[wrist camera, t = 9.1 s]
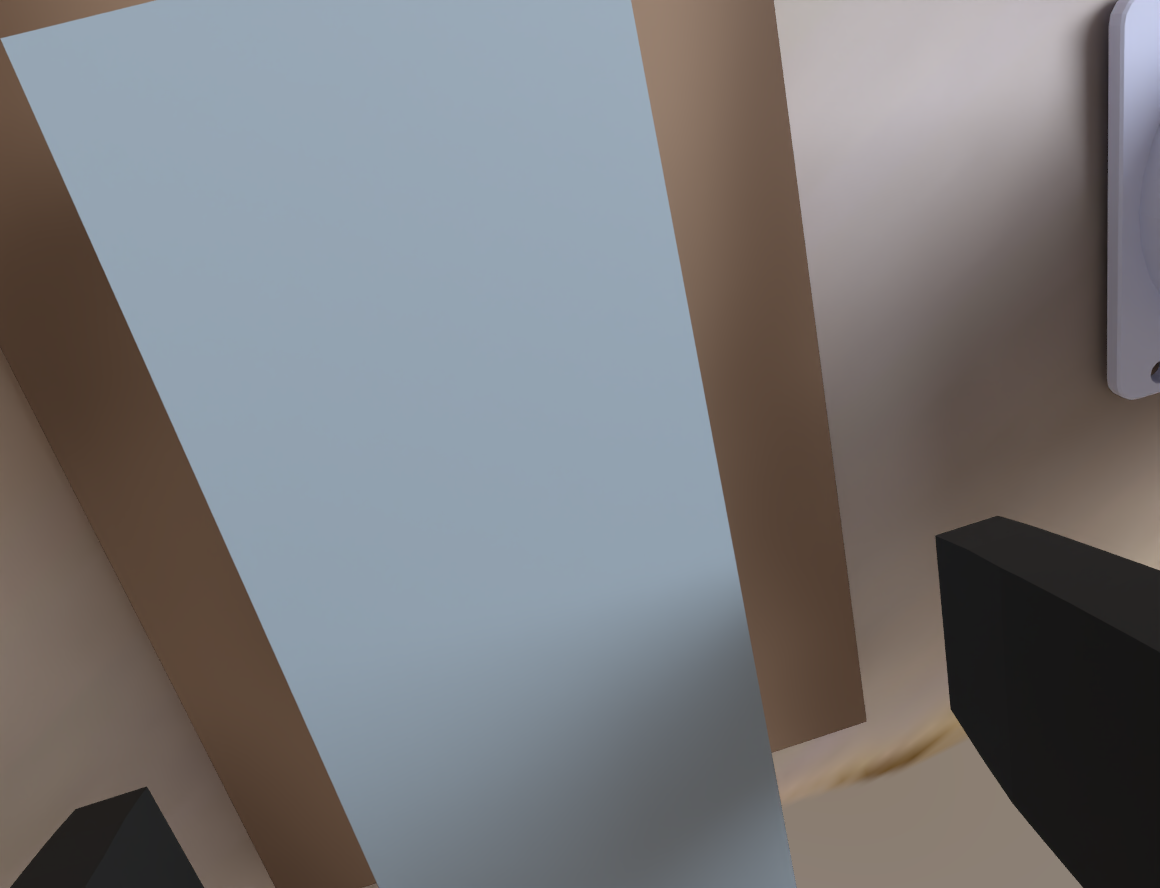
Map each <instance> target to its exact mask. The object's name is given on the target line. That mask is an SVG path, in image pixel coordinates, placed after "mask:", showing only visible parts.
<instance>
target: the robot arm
mask: <svg viewBox="0 0 1160 888" xmlns="http://www.w3.org/2000/svg"><path fill="white" fill-rule="evenodd" d="M1159 361H1160V0H1118V1H1117V2H1116V4H1115V6H1114V8H1113V10H1112V12H1111V15H1110V21H1109V80H1108V273H1107V382H1108V387H1109V388H1110V389H1111V391H1112V392H1113V393H1115V394H1117V395H1119V396H1121V397H1123V398H1126V399H1129V400H1135V399H1140V398H1143V397H1147V396H1150V395H1153V394H1156V393H1160V364H1159V368H1158V369H1157V371H1156V372H1155V373H1154V374H1153V375H1151V371H1152V368H1153V367H1154V366H1155V365H1156V363H1158V362H1159ZM935 537H936V549H937V560H938V571H939V583H940V594H941V605H942V616H943V628H944V639H945V650H946V661H947V673H948V684H949V695H950V707H951V710H952V712H953V713H954V715H955V717H956V718H957V720H958V721H959V723H960V724H961V726H962V728H963V729H964V731H965V732H966V734H967V735H968V737H969V738H970V740H971V742H972V743H973V745H974V746H975V748H976V749H977V751H978V752H979V754H980V756H981V757H982V759H983V760H984V762H985V763H986V765H987V766H988V768H989V769H990V771H991V772H992V774H993V775H994V777H995V778H996V779H997V781H998V782H999V784H1000V785H1001V787H1002V788H1003V790H1004V791H1005V793H1006V794H1007V796H1008V797H1009V799H1010V800H1011V802H1012V803H1013V804H1014V805H1015V807H1016V808H1017V809H1018V810H1019V812H1020V813H1021V814H1022V815H1023V816H1024V818H1025V819H1026V820H1027V821H1028V823H1029V824H1030V825H1031V826H1032V827H1033V829H1034V830H1035V831H1036V832H1037V833H1038V835H1040V837H1041V838H1042V839H1043V840H1044V842H1045V843H1046V844H1047V845H1048V846H1049V848H1050V849H1051V850H1052V851H1053V852H1054V853H1055V855H1056V856H1057V857H1058V858H1059V859H1060V861H1061V862H1062V863H1063V864H1064V865H1065V867H1066V868H1067V869H1068V870H1069V871H1070V873H1071V874H1072V875H1073V876H1074V877H1075V878H1076V880H1077V881H1078V882H1079V883H1080V884H1081V886H1082V887H1083V888H1160V570H1157V569H1154V568H1151V567H1148V566H1146V565H1143V564H1140V563H1137V562H1134V561H1131V560H1129V559H1126V558H1123V557H1120V556H1117V555H1114V554H1112V553H1109V552H1106V551H1103V550H1100V549H1097V548H1095V547H1092V546H1089V545H1086V544H1083V543H1080V542H1078V541H1075V540H1072V539H1069V538H1066V537H1063V536H1060V535H1057V534H1054V533H1051V532H1048V531H1045V530H1042V529H1040V528H1037V527H1033V526H1030V525H1027V524H1024V523H1021V522H1017V521H1014V520H1010V519H1007V518H1003V517H1000V516H995V517H992V518H989V519H986V520H983V521H980V522H977V523H973V524H970V525H967V526H964V527H961V528H958V529H955V530H951V531H948V532H945V533H942V534H939V535H936V536H935ZM10 888H204V887H203V885H202V883H201V882H200V880H199V878H198V876H197V875H196V873H195V871H194V869H193V867H192V866H191V864H190V862H189V860H188V859H187V857H186V855H185V853H184V851H183V850H182V848H181V846H180V844H179V843H178V841H177V839H176V837H175V835H174V834H173V832H172V830H171V828H170V827H169V825H168V823H167V821H166V819H165V818H164V816H163V814H162V812H161V811H160V809H159V807H158V805H157V804H156V802H155V800H154V798H153V796H152V795H151V793H150V791H149V789H148V788H147V787H144V788H141V789H138V790H135V791H132V792H128V793H125V794H122V795H119V796H116V797H113V798H110V799H106V800H103V801H100V802H97V803H94V804H91V805H88V806H84V807H81V808H78V809H75V811H74V812H73V813H72V814H71V815H70V816H69V817H68V818H67V820H66V821H65V822H64V823H63V824H62V825H61V826H60V827H59V829H58V830H57V831H56V832H55V833H54V834H53V836H52V837H51V838H50V839H49V840H48V841H47V843H46V844H45V845H44V846H43V848H42V849H41V850H40V851H39V852H38V854H37V855H36V856H35V857H34V859H33V860H32V861H31V862H30V864H29V865H28V866H27V867H26V869H25V870H24V871H23V872H22V874H21V875H20V876H19V877H18V879H17V880H16V881H15V882H14V884H13V885H12V886H11V887H10Z"/></svg>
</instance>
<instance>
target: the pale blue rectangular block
mask: <svg viewBox="0 0 1160 888" xmlns="http://www.w3.org/2000/svg"><path fill="white" fill-rule="evenodd" d="M0 39H1V41H2V43H3V46H4V48H5V50H6V52H7V55H8V57H9V59H10V61H11V64H12V66H13V68H14V70H15V72H16V75H17V77H18V79H19V81H20V84H21V86H22V88H23V90H24V93H25V95H26V97H27V99H28V102H29V104H30V106H31V108H32V111H33V113H34V115H35V117H36V120H37V122H38V124H39V126H40V129H41V131H42V133H43V135H44V138H45V140H46V142H47V144H48V147H49V149H50V151H51V153H52V155H53V158H54V160H55V162H56V164H57V167H58V169H59V171H60V173H61V176H62V178H63V180H64V182H65V185H66V187H67V189H68V191H69V194H70V196H71V198H72V200H73V203H74V205H75V207H76V209H77V212H78V214H79V216H80V218H81V221H82V223H83V225H84V227H85V230H86V232H87V234H88V236H89V238H90V241H91V243H92V245H93V247H94V250H95V252H96V254H97V256H98V259H99V261H100V263H101V265H102V268H103V270H104V272H105V274H106V277H107V279H108V281H109V283H110V286H111V288H112V290H113V292H114V295H115V297H116V299H117V301H118V304H119V306H120V308H121V310H122V313H123V315H124V317H125V319H126V321H127V324H128V326H129V328H130V330H131V333H132V335H133V337H134V339H135V342H136V344H137V346H138V348H139V351H140V353H141V355H142V357H143V360H144V362H145V364H146V366H147V369H148V371H149V373H150V375H151V378H152V380H153V382H154V384H155V387H156V389H157V391H158V393H159V396H160V398H161V400H162V402H163V404H164V407H165V409H166V411H167V413H168V416H169V418H170V420H171V422H172V425H173V427H174V429H175V431H176V434H177V436H178V438H179V440H180V443H181V445H182V447H183V449H184V452H185V454H186V456H187V458H188V461H189V463H190V465H191V467H192V470H193V472H194V474H195V476H196V479H197V481H198V483H199V485H200V487H201V490H202V492H203V494H204V496H205V499H206V501H207V503H208V505H209V508H210V510H211V512H212V514H213V517H214V519H215V521H216V523H217V526H218V528H219V530H220V532H221V535H222V537H223V539H224V541H225V544H226V546H227V548H228V550H229V553H230V555H231V557H232V559H233V562H234V564H235V566H236V568H237V570H238V573H239V575H240V577H241V579H242V582H243V584H244V586H245V588H246V591H247V593H248V595H249V597H250V600H251V602H252V604H253V606H254V609H255V611H256V613H257V615H258V618H259V620H260V622H261V624H262V627H263V629H264V631H265V633H266V636H267V638H268V640H269V642H270V645H271V647H272V649H273V651H274V653H275V656H276V658H277V660H278V662H279V665H280V667H281V669H282V671H283V674H284V676H285V678H286V680H287V683H288V685H289V687H290V689H291V692H292V694H293V696H294V698H295V701H296V703H297V705H298V707H299V710H300V712H301V714H302V716H303V719H304V721H305V723H306V725H307V728H308V730H309V732H310V734H311V736H312V739H313V741H314V743H315V745H316V748H317V750H318V752H319V754H320V757H321V759H322V761H323V763H324V766H325V768H326V770H327V772H328V775H329V777H330V779H331V781H332V784H333V786H334V788H335V790H336V793H337V795H338V797H339V799H340V802H341V804H342V806H343V808H344V811H345V813H346V815H347V817H348V819H349V822H350V824H351V826H352V828H353V831H354V833H355V835H356V837H357V840H358V842H359V844H360V846H361V849H362V851H363V853H364V855H365V858H366V860H367V862H368V864H369V867H370V869H371V871H372V873H373V876H374V878H375V880H376V882H377V885H378V887H379V888H797V887H796V883H795V876H794V872H793V866H792V861H791V855H790V850H789V844H788V839H787V834H786V829H785V823H784V818H783V812H782V807H781V801H780V796H779V791H778V785H777V780H776V775H775V769H774V764H773V759H772V753H771V748H770V743H769V737H768V732H767V726H766V721H765V716H764V710H763V705H762V700H761V694H760V689H759V684H758V678H757V673H756V668H755V662H754V657H753V651H752V646H751V641H750V635H749V630H748V625H747V619H746V614H745V609H744V603H743V598H742V593H741V587H740V582H739V576H738V571H737V566H736V560H735V555H734V550H733V544H732V539H731V534H730V528H729V523H728V518H727V512H726V507H725V501H724V496H723V491H722V485H721V480H720V475H719V469H718V464H717V459H716V453H715V448H714V443H713V437H712V432H711V426H710V421H709V416H708V410H707V405H706V400H705V394H704V389H703V384H702V378H701V373H700V368H699V362H698V357H697V351H696V346H695V341H694V335H693V330H692V325H691V319H690V314H689V309H688V303H687V298H686V293H685V287H684V282H683V276H682V271H681V266H680V260H679V255H678V250H677V244H676V239H675V234H674V228H673V223H672V218H671V212H670V207H669V201H668V196H667V191H666V185H665V180H664V175H663V169H662V164H661V159H660V153H659V148H658V143H657V137H656V132H655V126H654V121H653V116H652V110H651V105H650V100H649V94H648V89H647V84H646V78H645V73H644V68H643V62H642V57H641V51H640V46H639V41H638V35H637V30H636V25H635V19H634V14H633V9H632V3H631V0H155V1H151V2H147V3H143V4H139V5H135V6H131V7H127V8H123V9H118V10H114V11H110V12H106V13H102V14H98V15H94V16H90V17H86V18H82V19H78V20H74V21H70V22H66V23H61V24H57V25H53V26H49V27H45V28H41V29H37V30H33V31H29V32H25V33H21V34H17V35H13V36H9V37H5V38H0Z"/></svg>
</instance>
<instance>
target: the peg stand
mask: <svg viewBox="0 0 1160 888" xmlns="http://www.w3.org/2000/svg"><path fill="white" fill-rule="evenodd" d="M151 1H155V0H0V38H5V37H9V36H13V35H17V34H21V33H25V32H29V31H33V30H37V29H41V28H45V27H49V26H53V25H57V24H61V23H66V22H70V21H74V20H78V19H82V18H86V17H90V16H94V15H98V14H102V13H106V12H110V11H114V10H118V9H123V8H127V7H131V6H135V5H139V4H143V3H147V2H151ZM631 3H632V9H633V14H634V19H635V25H636V30H637V35H638V41H639V46H640V51H641V57H642V62H643V68H644V73H645V78H646V84H647V89H648V94H649V100H650V105H651V110H652V116H653V121H654V126H655V132H656V137H657V143H658V148H659V153H660V159H661V164H662V169H663V175H664V180H665V185H666V191H667V196H668V201H669V207H670V212H671V218H672V223H673V228H674V234H675V239H676V244H677V250H678V255H679V260H680V266H681V271H682V276H683V282H684V287H685V293H686V298H687V303H688V309H689V314H690V319H691V325H692V330H693V335H694V341H695V346H696V351H697V357H698V362H699V368H700V373H701V378H702V384H703V389H704V394H705V400H706V405H707V410H708V416H709V421H710V426H711V432H712V437H713V443H714V448H715V453H716V459H717V464H718V469H719V475H720V480H721V485H722V491H723V496H724V501H725V507H726V512H727V518H728V523H729V528H730V534H731V539H732V544H733V550H734V555H735V560H736V566H737V571H738V576H739V582H740V587H741V593H742V598H743V603H744V609H745V614H746V619H747V625H748V630H749V635H750V641H751V646H752V651H753V657H754V662H755V668H756V673H757V678H758V684H759V689H760V694H761V700H762V705H763V710H764V716H765V721H766V726H767V732H768V737H769V743H770V748H771V753H772V752H775V751H779V750H782V749H785V748H788V747H791V746H794V745H797V744H800V743H803V742H806V741H809V740H812V739H815V738H818V737H821V736H824V735H827V734H830V733H833V732H836V731H839V730H842V729H845V728H848V727H851V726H854V725H857V724H861V723H864V722H867V721H866V713H865V705H864V698H863V690H862V682H861V674H860V667H859V659H858V651H857V643H856V636H855V628H854V620H853V612H852V605H851V597H850V589H849V581H848V574H847V566H846V558H845V550H844V543H843V535H842V527H841V519H840V512H839V504H838V496H837V488H836V481H835V473H834V465H833V457H832V449H831V442H830V434H829V426H828V418H827V411H826V403H825V395H824V387H823V380H822V372H821V364H820V356H819V349H818V341H817V333H816V325H815V318H814V310H813V302H812V294H811V287H810V279H809V271H808V263H807V256H806V248H805V240H804V232H803V225H802V217H801V209H800V201H799V194H798V186H797V178H796V170H795V163H794V155H793V147H792V139H791V132H790V124H789V116H788V108H787V101H786V93H785V85H784V77H783V69H782V62H781V54H780V46H779V38H778V31H777V23H776V15H775V7H774V0H631ZM0 347H1V349H2V351H3V353H4V355H5V357H6V359H7V361H8V363H9V365H10V367H11V369H12V371H13V373H14V375H15V377H16V379H17V381H18V383H19V384H20V386H21V388H22V390H23V392H24V394H25V396H26V398H27V400H28V402H29V404H30V406H31V408H32V410H33V412H34V414H35V416H36V418H37V420H38V422H39V424H40V426H41V428H42V430H43V432H44V434H45V436H46V438H47V440H48V441H49V443H50V445H51V447H52V449H53V451H54V453H55V455H56V457H57V459H58V461H59V463H60V465H61V467H62V469H63V471H64V473H65V475H66V477H67V479H68V481H69V483H70V485H71V487H72V489H73V491H74V493H75V495H76V497H77V499H78V500H79V502H80V504H81V506H82V508H83V510H84V512H85V514H86V516H87V518H88V520H89V522H90V524H91V526H92V528H93V530H94V532H95V534H96V536H97V538H98V540H99V542H100V544H101V546H102V548H103V550H104V552H105V554H106V556H107V557H108V559H109V561H110V563H111V565H112V567H113V569H114V571H115V573H116V575H117V577H118V579H119V581H120V583H121V585H122V587H123V589H124V591H125V593H126V595H127V597H128V599H129V601H130V603H131V605H132V607H133V609H134V611H135V613H136V614H137V616H138V618H139V620H140V622H141V624H142V626H143V628H144V630H145V632H146V634H147V636H148V638H149V640H150V642H151V644H152V646H153V648H154V650H155V652H156V654H157V656H158V658H159V660H160V662H161V664H162V666H163V668H164V670H165V671H166V673H167V675H168V677H169V679H170V681H171V683H172V685H173V687H174V689H175V691H176V693H177V695H178V697H179V699H180V701H181V703H182V705H183V707H184V709H185V711H186V713H187V715H188V717H189V719H190V721H191V723H192V725H193V727H194V728H195V730H196V732H197V734H198V736H199V738H200V740H201V742H202V744H203V746H204V748H205V750H206V752H207V754H208V756H209V758H210V760H211V762H212V764H213V766H214V768H215V770H216V772H217V774H218V776H219V778H220V780H221V782H222V784H223V785H224V787H225V789H226V791H227V793H228V795H229V797H230V799H231V801H232V803H233V805H234V807H235V809H236V811H237V813H238V815H239V817H240V819H241V821H242V823H243V825H244V827H245V829H246V831H247V833H248V835H249V837H250V839H251V841H252V843H253V844H254V846H255V848H256V850H257V852H258V854H259V856H260V858H261V860H262V862H263V864H264V866H265V868H266V870H267V872H268V874H269V876H270V878H271V880H272V882H273V884H274V886H275V888H363V887H366V886H369V885H372V884H375V883H377V882H376V880H375V878H374V876H373V873H372V871H371V869H370V867H369V864H368V862H367V860H366V858H365V855H364V853H363V851H362V849H361V846H360V844H359V842H358V840H357V837H356V835H355V833H354V831H353V828H352V826H351V824H350V822H349V819H348V817H347V815H346V813H345V811H344V808H343V806H342V804H341V802H340V799H339V797H338V795H337V793H336V790H335V788H334V786H333V784H332V781H331V779H330V777H329V775H328V772H327V770H326V768H325V766H324V763H323V761H322V759H321V757H320V754H319V752H318V750H317V748H316V745H315V743H314V741H313V739H312V736H311V734H310V732H309V730H308V728H307V725H306V723H305V721H304V719H303V716H302V714H301V712H300V710H299V707H298V705H297V703H296V701H295V698H294V696H293V694H292V692H291V689H290V687H289V685H288V683H287V680H286V678H285V676H284V674H283V671H282V669H281V667H280V665H279V662H278V660H277V658H276V656H275V653H274V651H273V649H272V647H271V645H270V642H269V640H268V638H267V636H266V633H265V631H264V629H263V627H262V624H261V622H260V620H259V618H258V615H257V613H256V611H255V609H254V606H253V604H252V602H251V600H250V597H249V595H248V593H247V591H246V588H245V586H244V584H243V582H242V579H241V577H240V575H239V573H238V570H237V568H236V566H235V564H234V562H233V559H232V557H231V555H230V553H229V550H228V548H227V546H226V544H225V541H224V539H223V537H222V535H221V532H220V530H219V528H218V526H217V523H216V521H215V519H214V517H213V514H212V512H211V510H210V508H209V505H208V503H207V501H206V499H205V496H204V494H203V492H202V490H201V487H200V485H199V483H198V481H197V479H196V476H195V474H194V472H193V470H192V467H191V465H190V463H189V461H188V458H187V456H186V454H185V452H184V449H183V447H182V445H181V443H180V440H179V438H178V436H177V434H176V431H175V429H174V427H173V425H172V422H171V420H170V418H169V416H168V413H167V411H166V409H165V407H164V404H163V402H162V400H161V398H160V396H159V393H158V391H157V389H156V387H155V384H154V382H153V380H152V378H151V375H150V373H149V371H148V369H147V366H146V364H145V362H144V360H143V357H142V355H141V353H140V351H139V348H138V346H137V344H136V342H135V339H134V337H133V335H132V333H131V330H130V328H129V326H128V324H127V321H126V319H125V317H124V315H123V313H122V310H121V308H120V306H119V304H118V301H117V299H116V297H115V295H114V292H113V290H112V288H111V286H110V283H109V281H108V279H107V277H106V274H105V272H104V270H103V268H102V265H101V263H100V261H99V259H98V256H97V254H96V252H95V250H94V247H93V245H92V243H91V241H90V238H89V236H88V234H87V232H86V230H85V227H84V225H83V223H82V221H81V218H80V216H79V214H78V212H77V209H76V207H75V205H74V203H73V200H72V198H71V196H70V194H69V191H68V189H67V187H66V185H65V182H64V180H63V178H62V176H61V173H60V171H59V169H58V167H57V164H56V162H55V160H54V158H53V155H52V153H51V151H50V149H49V147H48V144H47V142H46V140H45V138H44V135H43V133H42V131H41V129H40V126H39V124H38V122H37V120H36V117H35V115H34V113H33V111H32V108H31V106H30V104H29V102H28V99H27V97H26V95H25V93H24V90H23V88H22V86H21V84H20V81H19V79H18V77H17V75H16V72H15V70H14V68H13V66H12V64H11V61H10V59H9V57H8V55H7V52H6V50H5V48H4V46H3V43H2V41H1V39H0Z"/></svg>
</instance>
